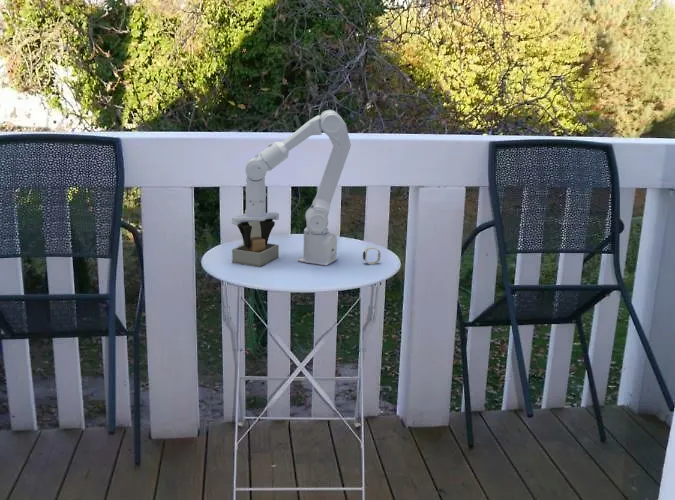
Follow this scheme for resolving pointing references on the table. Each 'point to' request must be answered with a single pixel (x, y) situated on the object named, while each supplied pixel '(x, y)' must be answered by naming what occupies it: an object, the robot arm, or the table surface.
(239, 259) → the bin
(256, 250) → the walnut block
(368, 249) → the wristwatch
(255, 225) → the can
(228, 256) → the table surface
